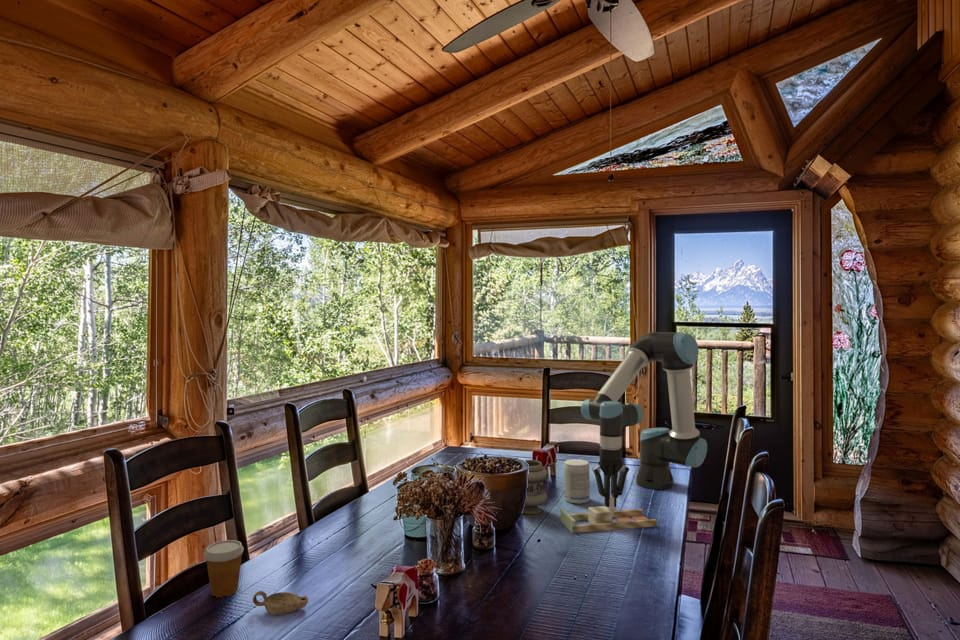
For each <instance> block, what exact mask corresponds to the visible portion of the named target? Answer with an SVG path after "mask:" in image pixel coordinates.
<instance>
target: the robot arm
mask: <svg viewBox="0 0 960 640" xmlns="http://www.w3.org/2000/svg"><path fill="white" fill-rule="evenodd" d="M698 359H699V346H698V342H697V340H696V337H694V336H693V335H692V334H690V333H687V332H686V333H685V332H670V331H669V332H668V331H667V332H666V331H665V332H664V331H652V332H648V333H646V334H644V335H642V336H641V337H639V338H638V339H636V340H635V341H633V342H632V344H631V345H630V346H629V347H628V348H627V349H626V352H625V357H624V358H623V359H622V360H621V362H620V363H619V365H618V366H617V367H616V369H615V370H614V372H613V373H612V374H611V375H610V377H609V378H608V379H607V380H606V382H605V383H604V384H603V386H602V387H601V389H600V390H599V391H598V393H596V395H595V396H594V398H587V399H584V400H583V401H582V403H581V406H580V412H581V415H582V416H583V418H584V419H585V420H590V421H593V422H599V446H600V447H599V461H598V464H597V466H595V467H592V468H591V470H592V472H593V474H594V476H595V481H596V486H597V490H598V494H599V495H600V496H602V497H604V502H603V503H604V506H605V507H607V508H608V509H609V510H610V511H611V512H612V517H614V511H615V507H617V499H618V498H619V496H622V495H623V491H624V486H625V483H626V479H627V475H628V473H629V471H630V468H629V467H628V466H627V465H624V462H623V448H622V447H623V428H627V427H633V426H636V425H639V424H640V423H641V422H642V421H643V419H644V410H643V408H642V407H641V406H640V405H639V404H637V403H631V402H629V403H627V404H626V403H625V404H624V403H622V402H620V401H619V399H621V397H622V396H623V394H624V393H625V392H626V390H627V389H628V387H629V386H630V385H631V384H632V382H633V381H634V379H635V378H636V377H637V375H638V374H639V373H640V372H641V370H642V368H645V367H647V366H648V365H649V363H652V362H661V367H662V368H661V369H662V370H663V371H665V372H666V377H667V378H666V379H667V386H668V398H669V407H670V416H671V417H670V418H671V428H672V429H670V428H667V427H651V428H645V429H643V430H641V432H640V440H639V441H640V445H639V446H640V447H639V449H640V451H639V453H640V459H639V461H640V462H639V463H640V464H639V467H638V470H637V473H636V476H635V484H636V485H638V486H640V487H642V488H646V489H652V490H665V489H666V490H667V489H671V488H673V487H674V484H675V481H674V477H673V473H672V471H671V467H670V463H671V464H675V465H680V466H685V467H686V468H688V467H689V468H698V467H700V466H701V465H702V464H703V463H704V460H705V459H706V456H707V452H708V443H707V440H706V439H704V438H702V437H701V434H700V433H701V432H700V431H699V429H697V428H696V422H695V421H696V420H695V413H694V400H693V391H692V380H691V379H692V378H691V370H692V369H693V368H694V364H695V363H697V360H698ZM601 472H602V473H603V480H602V476H601V475H602V474H601Z"/></svg>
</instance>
